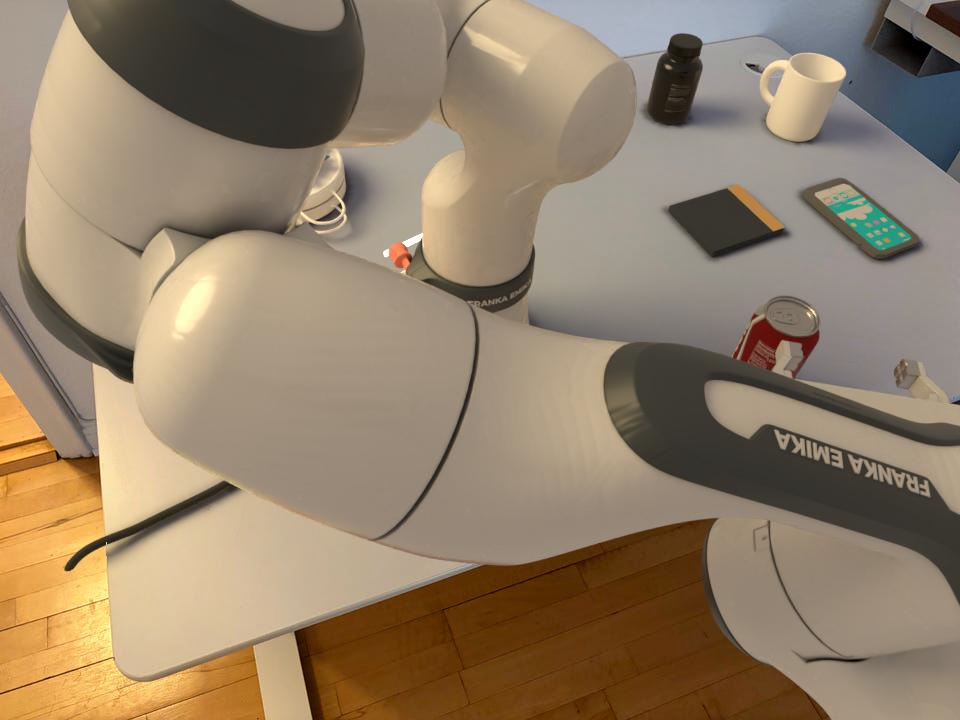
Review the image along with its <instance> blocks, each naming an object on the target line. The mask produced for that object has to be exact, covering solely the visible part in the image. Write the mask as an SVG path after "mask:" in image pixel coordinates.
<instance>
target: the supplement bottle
mask: <svg viewBox="0 0 960 720" xmlns="http://www.w3.org/2000/svg"><path fill="white" fill-rule="evenodd" d="M703 45H704V42H703V40H702V39H701V38H700V37H698V36H697V35H695V34H692V33H684V32H680V33H679V32H678V33H675V34H673V35H672V36H670V39H669V41H668V45H667V48H666V51H665V52H663V54H661V55H660V56H659V58H658V60H657V63H656V67H655V71H654V76H653V79H652V83H651V88H650V92H649V94H648V95H649V96H648V100H647V104H646V112H647V115H648V116H649V118H651V119H652V120H654V121H656V122H658V123H661V124H666V125H679V124H681V123H684V122H685V121H686V120H687V119H688V118H689V116H690V113H691V111H692V107H693V103H694V100H695V96H696V93H697V89H698V86H699V83H700V80H701V77H702V73H703V69H704V65H703V62H702V59H701V58H700V56H701V53H702V48H703Z"/></svg>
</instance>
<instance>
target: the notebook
mask: <svg viewBox="0 0 960 720" xmlns="http://www.w3.org/2000/svg"><path fill="white" fill-rule="evenodd" d="M667 212H668V213H669V214H670V215H671V216H672V217H673V218H674V219H675V220H676V221H677V222H678V223H679V225H680V226H681V227H683V228H684V230H685V231H686V232H687V233H688V234H689V235H690V236H691V237H692V238H693V239H694V240H695V241H696V242H697V243H698V245H700V246H701V248H703V249H704V251H706V252H707V254H708V255H709V256H710V257H711V258H713V257H716V256H719V255H722V254H724V253H727V252H732V251H733V250H737V249H739V248H742V247H745V246H748V245H751V244H754V243H757V242H760V241H764V240H766V239H770V238H771V237H775V236H777V235H781V234H783V232H784V230H785V226H784V224H783V223H781V222H780V221H779V220H778V219H777V218H776V217H775V216H774V215H772V213H770V212H769V211H768V210H767V209H766V208H765V207H764V206H763V205H762V204H760V202H759V201H757V200H756V198H754V197H753V196H752V195H751V194H750V193H749V192H748V191H747V190H745V189H744V188H743V187H742V186H741V185H740V184H739V183H737V184H734V185H731V186H726V188H723V189H720V190H717V191H714V192H710V193H707V194H704V195H703V194H702V195H701V196H700V195H699V196H697V197H693V198H690V199H687V200H684V201H680V202H678V203H674V204H671V205H669V206H668V210H667Z"/></svg>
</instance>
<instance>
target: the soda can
mask: <svg viewBox="0 0 960 720" xmlns="http://www.w3.org/2000/svg"><path fill="white" fill-rule="evenodd" d="M821 322H822V320H821V316H820V314H819V312H818V311H817V309H816V308H815V307H814V306H813V305H812V304H811V303H809V302H807V301H806V300H804V299H802V298H799V297H797V296H795V295H794V296H793V295H788V294H781V295H775V296H773V297H771V298H770V299H768V300H767V301H766V303H764V304H762V305H760V306H759V307H757V308H756V309H755V310H754V312H753V314H752V316H751V317H750V320H749V322H748V324H747V326H746V328H745V329H744V331H743V333H742V335H741V336H740V339H739V341H738V343H737V345H736V347H735V349H734V351H733V352H732V355H730V357H731V358H734V359H737V360H740V361H743V362H746V363H749V364H752V365H755V366H758V367H761V368H764V369H767V370H770V371H772V369H773V368H774V366H775V365H776V356H775V354H776V350H777V348H778V346H779V344H780V342H781V341H782V340H784V341H791V342H796V343H801V344H802V348H801V350H802V351H803V359H802V361H801V362H800V363H799V364H798V367H797V369H796V370H795V371H791V372H792V379H796V377H797V375H798V374H799V372H800V371H801V369H802V368H803V366H804V364H805V363H806V361H807V360H808V359H809V357H810V355H811V354H812V352H813V351H814V349H815V348H816V346H817V344H818V343H819V341H820V337H821V335H820V328H821V324H822V323H821ZM789 371H790V370H789Z"/></svg>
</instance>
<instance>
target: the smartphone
mask: <svg viewBox="0 0 960 720" xmlns="http://www.w3.org/2000/svg"><path fill="white" fill-rule="evenodd" d="M802 198H803V199H804V200H805V201H806V202H807V203H808V204H810V206H812V207H813V208H814V209H815V210H816V211H818V212H819V213H820V214H821V215H822V216H823V217H825V218H826V219H827V220H828V221H829V222H830V223H831V224H832V225H834V226H835V227H836V228H837V229H838V230H840V231H841V232H842V233H843V234H844V235H845V236H847V237H848V238H849V239H850V240H851V241H852V242H853V243H854V244H856V245H857V246H858V247H859V248H861V249H862V251H864V252H865V253H866V254H867V255H869V256H870V257H872V258H873V259H877V260H884V259H887V258H889V257H892V256H894V255H896V254H899V253H902V252H904V251H907V250H910V249H912V248H915V247H916V246H917V244H918V243H919V242H920V236H918V234H917V233H915V232H914V231H913V230H912V229H911V228H909V227H908V226H906V225H905V224H904V223H903V222H901V220H899V219H898V218H896V217H895V216H894V215H893V214H892V213H891V212H889V211H888V210H887V209H885V208H884V207H883V206H882V205H880V204H879V203H878V202H876V201H875V199H873V198H872V197H871V196H869V195H868V194H867V193H865V192H864V191H863V190H862V189H860V188H859V187H858V186H856V185H855V184H854V183H853V182H851V181H849V180H848V179H847V178H843V177H836V178H834V179H831V180H828V181H824V182H821V183H819V184H816V185H813V186H809V187H807V188H806V189H805V190H804V193H803V195H802Z"/></svg>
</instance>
